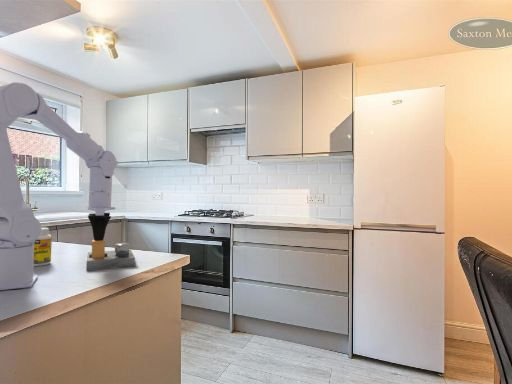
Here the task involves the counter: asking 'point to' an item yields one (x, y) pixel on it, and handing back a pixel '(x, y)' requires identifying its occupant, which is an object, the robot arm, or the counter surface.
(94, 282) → the counter surface
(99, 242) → the orange rectangular box
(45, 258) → the supplement bottle
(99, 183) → the robot arm
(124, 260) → the gray tray with knob
